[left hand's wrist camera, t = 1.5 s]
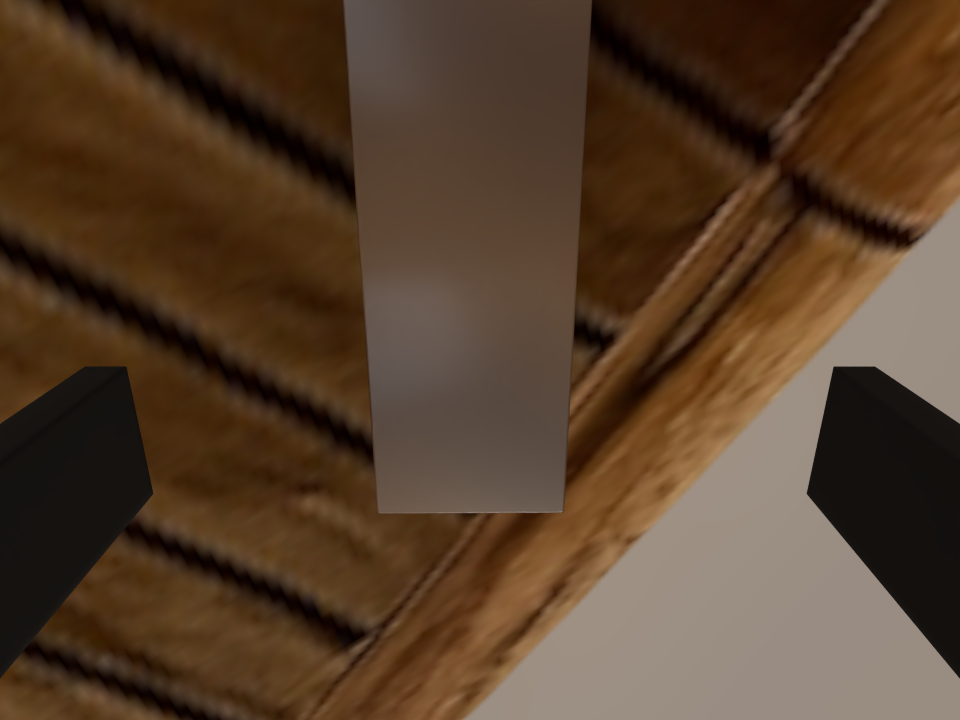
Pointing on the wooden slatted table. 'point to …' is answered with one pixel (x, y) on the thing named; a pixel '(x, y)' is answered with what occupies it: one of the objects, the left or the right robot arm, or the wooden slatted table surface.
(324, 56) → the wooden slatted table surface
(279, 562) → the wooden slatted table surface
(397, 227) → the bar
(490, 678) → the wooden slatted table surface
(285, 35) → the wooden slatted table surface
